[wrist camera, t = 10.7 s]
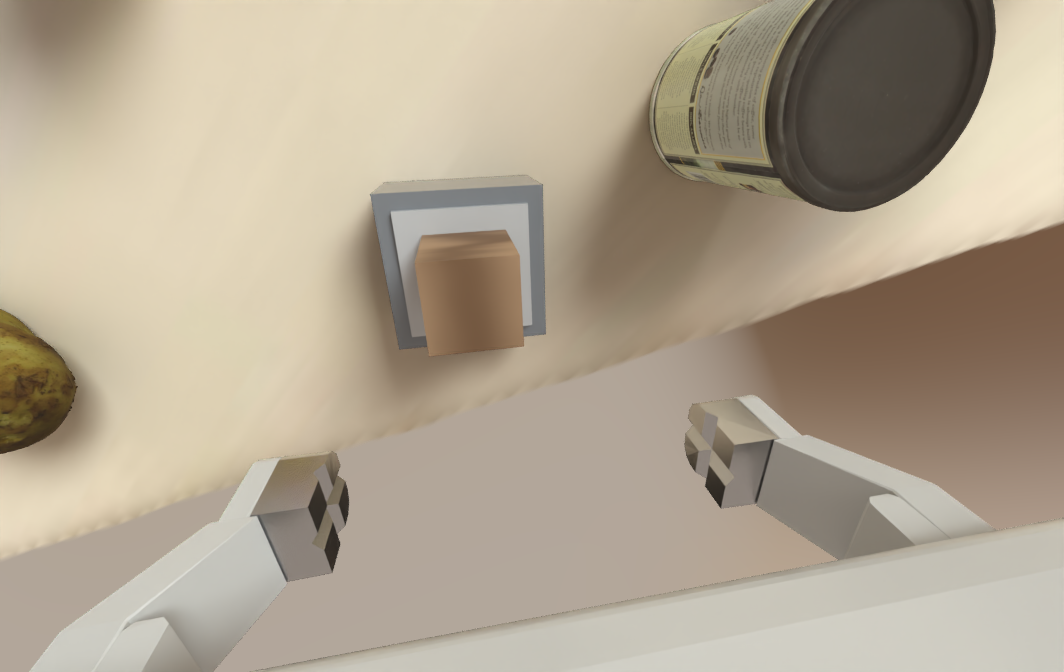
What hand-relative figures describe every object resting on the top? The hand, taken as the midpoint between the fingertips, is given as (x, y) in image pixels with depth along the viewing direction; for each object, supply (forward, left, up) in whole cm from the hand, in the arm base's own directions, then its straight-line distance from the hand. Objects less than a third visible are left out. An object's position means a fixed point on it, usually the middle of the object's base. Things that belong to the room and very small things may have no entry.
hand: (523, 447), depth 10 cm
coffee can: (-18, -7, -25) cm, 32 cm away
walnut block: (+1, +1, -19) cm, 19 cm away
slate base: (+1, +2, -25) cm, 25 cm away
